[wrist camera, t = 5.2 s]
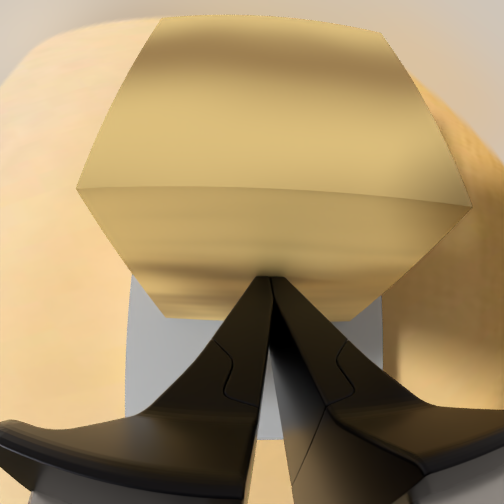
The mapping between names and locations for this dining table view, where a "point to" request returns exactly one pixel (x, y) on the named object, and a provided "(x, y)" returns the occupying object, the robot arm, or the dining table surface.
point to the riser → (195, 340)
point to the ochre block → (269, 165)
